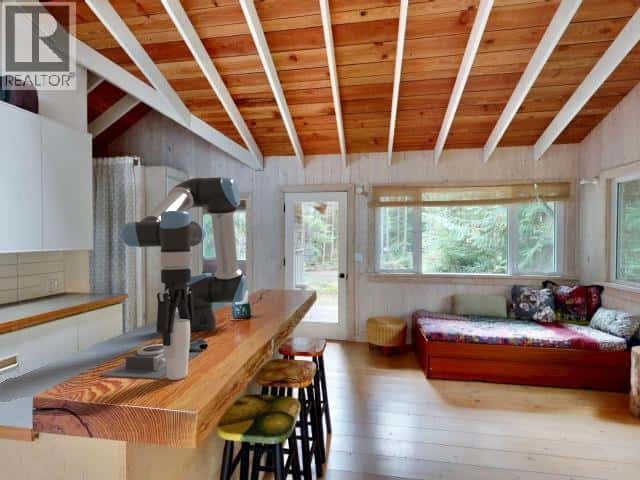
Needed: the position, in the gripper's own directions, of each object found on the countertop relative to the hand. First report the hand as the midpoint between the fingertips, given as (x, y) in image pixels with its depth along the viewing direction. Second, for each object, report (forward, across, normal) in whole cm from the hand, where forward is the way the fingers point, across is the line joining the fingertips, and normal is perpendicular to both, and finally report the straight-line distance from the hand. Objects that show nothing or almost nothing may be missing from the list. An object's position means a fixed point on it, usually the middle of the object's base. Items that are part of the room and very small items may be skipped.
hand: (177, 352), depth 95 cm
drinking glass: (+7, 0, 0) cm, 7 cm away
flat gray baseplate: (+7, -9, -13) cm, 17 cm away
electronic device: (+7, -25, -12) cm, 29 cm away
